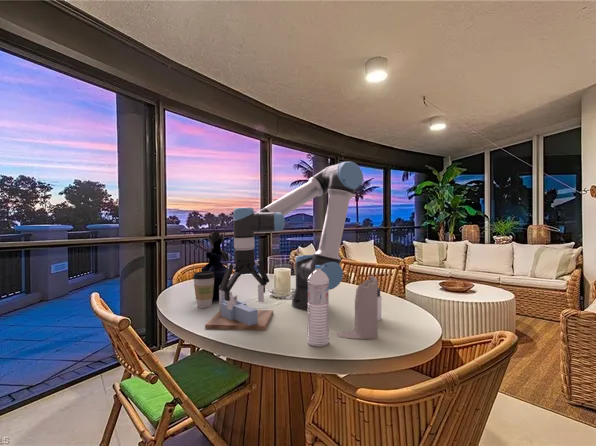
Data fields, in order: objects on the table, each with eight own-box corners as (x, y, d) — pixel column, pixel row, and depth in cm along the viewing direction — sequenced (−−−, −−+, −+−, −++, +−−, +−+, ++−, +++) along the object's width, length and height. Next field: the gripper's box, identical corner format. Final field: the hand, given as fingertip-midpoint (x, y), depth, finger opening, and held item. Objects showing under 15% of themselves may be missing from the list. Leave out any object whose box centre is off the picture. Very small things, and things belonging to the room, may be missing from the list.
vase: (234, 300, 155) (233, 227, 155) (210, 304, 149) (210, 228, 148) (223, 294, 167) (222, 227, 166) (201, 297, 161) (200, 227, 160)
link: (216, 313, 129) (216, 301, 129) (231, 310, 134) (231, 298, 134) (245, 326, 114) (245, 312, 114) (261, 322, 118) (261, 308, 118)
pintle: (237, 318, 127) (237, 295, 127) (236, 320, 125) (236, 296, 125) (232, 318, 127) (232, 295, 127) (231, 320, 125) (231, 296, 125)
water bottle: (322, 349, 98) (322, 267, 97) (303, 344, 102) (303, 266, 101) (332, 341, 104) (332, 264, 103) (314, 337, 107) (314, 263, 107)
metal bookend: (335, 331, 114) (335, 274, 113) (374, 331, 113) (375, 275, 113) (337, 339, 106) (337, 278, 106) (379, 339, 106) (379, 279, 105)
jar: (356, 320, 125) (356, 290, 124) (359, 314, 132) (359, 285, 132) (380, 323, 122) (380, 291, 122) (381, 316, 130) (381, 287, 129)
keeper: (229, 315, 131) (229, 287, 131) (225, 316, 130) (225, 287, 129) (223, 312, 135) (223, 284, 135) (219, 313, 134) (219, 285, 134)
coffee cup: (209, 309, 140) (209, 275, 139) (188, 308, 142) (188, 274, 141) (219, 303, 149) (219, 271, 149) (199, 302, 151) (199, 270, 151)
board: (273, 313, 134) (273, 310, 134) (265, 330, 115) (265, 325, 115) (221, 312, 135) (221, 309, 135) (205, 328, 116) (205, 324, 116)
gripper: (266, 245, 131) (267, 297, 131) (208, 251, 115) (210, 310, 115) (277, 246, 125) (278, 300, 126) (218, 253, 109) (220, 314, 110)
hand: (246, 305), depth 121 cm, fingers open, 13 cm apart
